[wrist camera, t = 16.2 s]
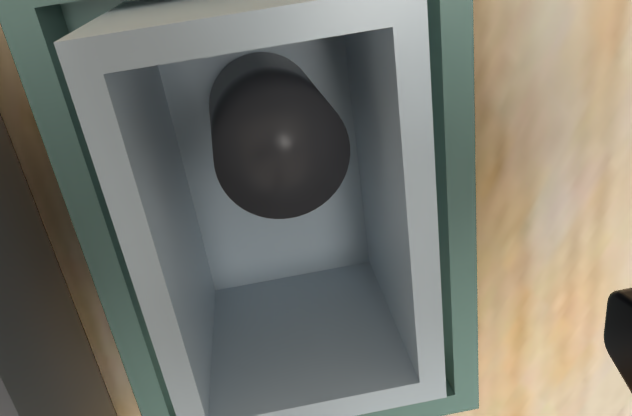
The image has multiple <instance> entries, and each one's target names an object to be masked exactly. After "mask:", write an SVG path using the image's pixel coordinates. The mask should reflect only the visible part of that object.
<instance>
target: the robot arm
mask: <svg viewBox="0 0 632 416" xmlns="http://www.w3.org/2000/svg"><path fill="white" fill-rule="evenodd" d="M604 342H605V346H606V349H607V351H608V353H609V355H610V357H611V359H612V360H613V362H614V364H615V365H616V367H617V369H618V371H619V372H620V374H621V376H622V377H623V379H624V381H625V382H626V384H627V386H628V388H629V389H630V391H631V393H632V288H628V289H623V290H618V291H614V292H613V293H611V294H610V296H609V298H608V302H607V311H606V320H605V329H604Z"/></svg>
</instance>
